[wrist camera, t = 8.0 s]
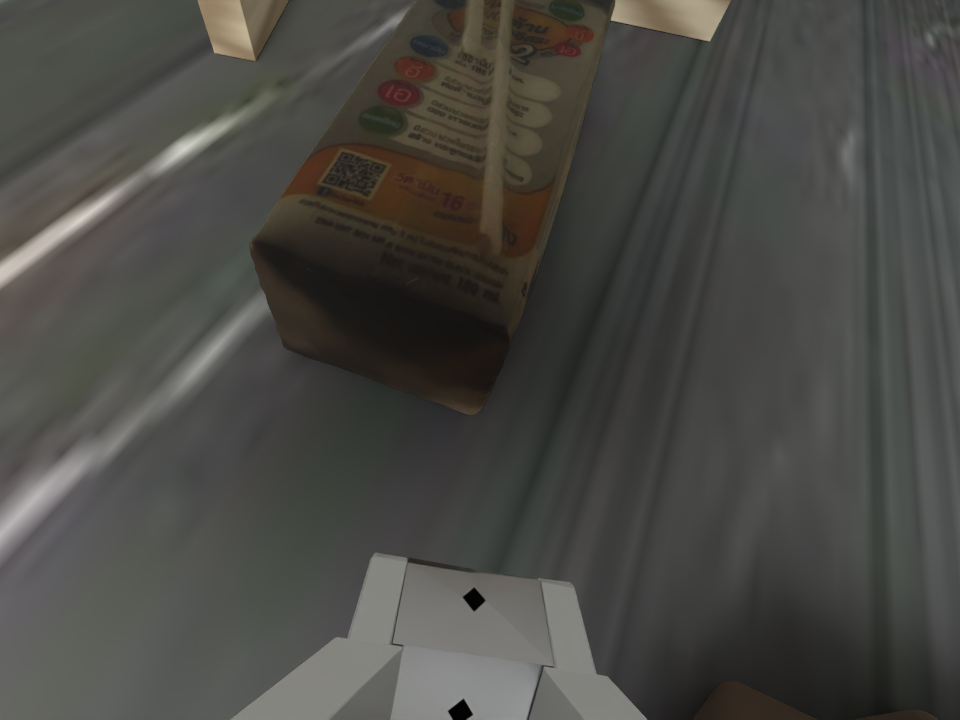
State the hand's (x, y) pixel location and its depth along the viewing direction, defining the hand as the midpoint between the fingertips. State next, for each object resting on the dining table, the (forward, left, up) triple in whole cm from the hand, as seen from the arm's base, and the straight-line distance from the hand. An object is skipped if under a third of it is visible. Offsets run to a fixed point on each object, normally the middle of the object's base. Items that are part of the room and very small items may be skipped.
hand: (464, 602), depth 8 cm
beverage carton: (+2, -16, -9) cm, 19 cm away
